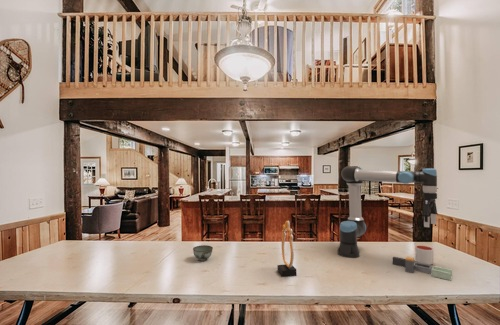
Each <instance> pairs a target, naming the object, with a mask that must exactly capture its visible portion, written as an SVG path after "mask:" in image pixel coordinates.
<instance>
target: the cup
mask: <svg viewBox="0 0 500 325" xmlns="http://www.w3.org/2000/svg"><path fill="white" fill-rule="evenodd" d="M414 251H415V258H414V261H415V262H417V263H422V264H426V265H431V266H433V264H434V248H433V247H430V246H426V245H416V246H415V250H414Z"/></svg>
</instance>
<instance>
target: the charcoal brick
mask: <svg viewBox="0 0 500 325" xmlns="http://www.w3.org/2000/svg"><path fill="white" fill-rule="evenodd" d="M405 260H406V258H403V257H398V256H393V257H392V262H391V263H392V264H391V265H394V266H398V267H402V266H403V267H402V268H405Z"/></svg>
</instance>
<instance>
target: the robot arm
mask: <svg viewBox="0 0 500 325" xmlns="http://www.w3.org/2000/svg"><path fill="white" fill-rule="evenodd" d="M340 175H341V178H342V179H343V180H344V181H345V183H346V185H347V187H348V206H349V216H348V217H347V220H344V221H341V222H340V224H339V245H338V248H337V254H338V255H339V256H341V257H343V258H344V257H345V258H350V259H354V258H355V259H356V258H359V257H360V256H361V255H360V249H359V247H358V237H362V236H363V235H364V234H365V233H366V231H367V224H366V223H365V219H364V217H362V197H361V196H362V189H361V186H362V185H363V184H364V183H363V181H367V182H369V181H371V182H384V183H398V184H404V185H406V184H413V183H415V184H416V183H418V184H422V192H423V193H422V198H423V199H425V200H424V201H423V210H422V215H421V216H422V217H423V227H424V228H430V224H431V225H437V215H438V210H437V209H438V208H437V204H436V200H438V189H439V188H438V175H437V169H436V168H422V171H417V170H415V171H411V170H410V171H409V170H405V171H402V170H401V171H400V170H379V169H378V170H377V169H363V168H362V167H360V166H355V165H351V166H350V165H348V166H345V167H343V168H342V170H341V173H340Z"/></svg>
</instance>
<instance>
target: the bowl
mask: <svg viewBox="0 0 500 325" xmlns="http://www.w3.org/2000/svg"><path fill="white" fill-rule="evenodd" d="M213 249H214V248H213V246H212V245H208V244H207V245H205V244H202V245H197V246H194V247H193V248H192V253H193V256H194V257H195V259H197V260H198V261H199V262H206V261H207V260H209V258H210V257H211V256H212V253H213Z"/></svg>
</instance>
